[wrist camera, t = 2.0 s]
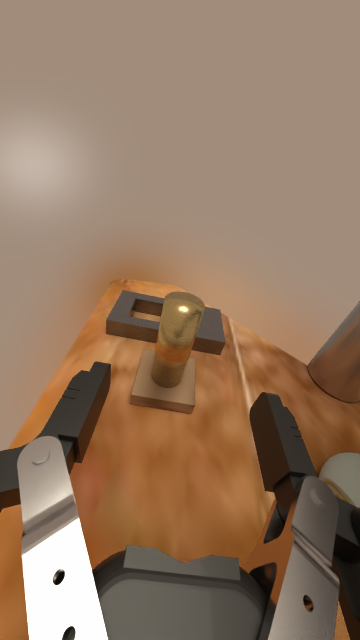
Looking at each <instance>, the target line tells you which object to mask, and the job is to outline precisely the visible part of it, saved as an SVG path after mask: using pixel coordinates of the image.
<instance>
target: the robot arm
mask: <svg viewBox="0 0 360 640" xmlns="http://www.w3.org/2000/svg"><path fill="white" fill-rule="evenodd" d="M308 371H309V373H310V375H311V377H312V379H313V380H314V381H315V382H316V383H317V384H318V385H319V386H320V387H321V388H322V389H323V390H324V391H326V392H327V393H329V394H330V395H332V396H333V397H335V398H338V399H340V400H342V401H345V402H351V403H355V402H359V401H360V301H359V302H358V304H357V305H356V306H355V307H354V308H353V310H352V311H351V312H350V314H349V315H348V316H347V317H346V318H345V320H344V321H343V322H342V323H341V325H340V326H339V327H338V328H337V330H336V331H335V332H334V333H333V334H332V336H331V337H330V338H329V339H328V341H327V342H326V343H325V344H324V346H323V347H322V348H321V349H320V350H319V351H318V353H317V354H316V355H315V356H314V358H313V359H312V360H311V362H310V363H309V364H308ZM110 377H111V364H107V363H102V362H94V364H93V366H92V368H91V370H90V372H89V371H83V370H81V371H80V372H79V373H78V374H77V375H75V376H74V377H73V378H72V380H71V381H70V383H69V385H68V387H67V389H66V390H65V392H64V394H63V395H62V398H61V399H60V401H59V402H58V404H57V406H56V408H55V409H54V411H53V413H52V415H51V416H50V418H49V420H48V422H47V423H46V425H45V427H44V429H43V430H42V432H41V433H40V434H39V435H38V436H37V437H36V438H35V439H34V440H33V441H31V442H30V443H28V444H26V445H24V446H21V447H19V448H14V449H9V450H3V451H0V512H1V510H2V509H3V508H7V507H11V506H15V505H18V504H21V509H22V519H23V534H22V539H21V550H22V562H23V573H24V585H25V596H26V607H27V618H28V629H29V640H334V635H335V625H336V616H337V607H338V599H339V603H340V606H341V610H342V613H343V616H344V620H345V623H346V626H347V630H348V633H349V636H350V640H360V507H359V508H358V507H356V506H354V505H352V504H350V503H348V502H346V501H344V500H342V499H340V498H339V497H337V496H335V495H334V493H333V492H332V490H331V489H330V488H329V486H328V485H327V484H326V483H325V482H323V481H322V480H321V479H319V478H318V476H317V474H316V472H315V469H314V467H313V464H312V462H311V459H310V456H309V454H308V451H307V449H306V446H305V444H304V441H303V439H302V438H301V437H302V436H301V434H300V431H299V430H298V426H297V423H296V421H295V418H294V416H293V415H292V414H291V412H290V411H289V410H288V408H287V407H284V406H283V405H282V402H281V400H280V397H279V396H278V395H276V394H271V393H265V392H262V393H261V394H260V395H259V397H258V398H257V400H256V401H255V403H254V404H253V406H252V407H251V409H250V423H251V427H252V432H253V437H254V441H255V446H256V450H257V455H258V460H259V464H260V469H261V474H262V478H263V483H264V488H265V491H269V492H274V493H275V497H276V499H275V500H274V502H273V504H272V507H271V509H270V512H269V515H268V518H267V520H266V523H265V526H264V528H263V531H262V534H261V537H260V539H259V542H258V544H257V545H256V547H255V548H254V549H253V551H252V552H251V554H250V556H249V558H248V560H247V562H246V565H245V567H244V569H243V568H241V567H240V566H239V561H238V558H231V557H222V556H214V555H211V556H207V557H204V558H200V559H197V560H193V561H190V562H187V563H182V562H180V561H178V560H176V559H174V558H172V557H170V556H169V555H167V554H165V553H163V552H161V551H159V550H157V549H155V548H147V547H139V546H131V545H127V547H126V550H125V551H121V552H118V553H116V554H113V555H111V556H110V557H108V558H107V559H105V560H103V561H102V562H101V563H100V564H99V565H97V566H96V567H95V568H94V569H93V570H92V569H91V565H90V561H89V556H88V552H87V548H86V544H85V540H84V536H83V531H82V527H81V523H80V519H79V515H78V511H77V506H76V502H75V498H74V494H73V490H72V485H71V481H70V477H69V475H70V473H71V470H72V468H73V465H74V463H75V462H77V463H82V461H83V458H84V455H85V453H86V450H87V447H88V445H89V442H90V439H91V437H92V434H93V432H94V429H95V426H96V424H97V421H98V418H99V416H100V413H101V410H102V408H103V405H104V403H105V400H106V397H107V395H108V391H109V388H110Z"/></svg>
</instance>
